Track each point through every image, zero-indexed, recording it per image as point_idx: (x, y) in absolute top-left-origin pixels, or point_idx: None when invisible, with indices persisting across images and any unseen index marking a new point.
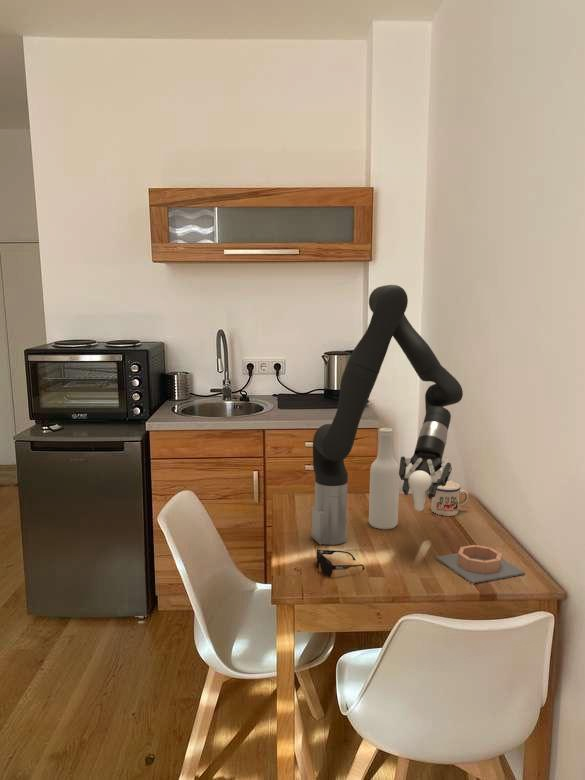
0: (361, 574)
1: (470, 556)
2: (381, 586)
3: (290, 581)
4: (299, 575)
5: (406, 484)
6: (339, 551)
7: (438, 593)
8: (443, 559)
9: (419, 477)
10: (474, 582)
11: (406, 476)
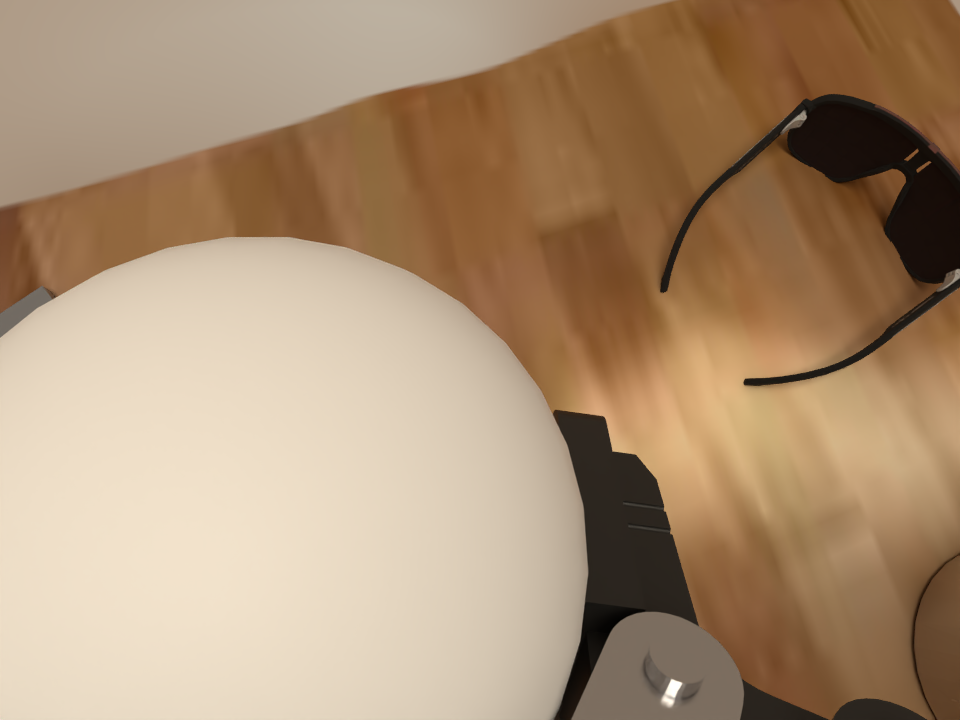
0: (654, 222)
1: None
2: (523, 129)
3: (929, 56)
4: (924, 120)
5: (597, 500)
6: (861, 350)
7: (238, 142)
8: None
9: (232, 250)
10: (31, 294)
11: (686, 649)
